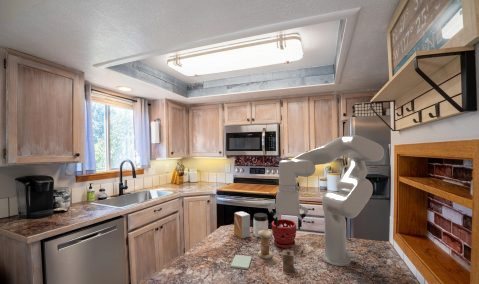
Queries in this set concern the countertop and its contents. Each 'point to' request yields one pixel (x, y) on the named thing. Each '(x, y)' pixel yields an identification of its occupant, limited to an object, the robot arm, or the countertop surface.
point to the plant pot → (284, 233)
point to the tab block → (288, 261)
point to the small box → (242, 224)
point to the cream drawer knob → (265, 244)
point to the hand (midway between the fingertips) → (287, 227)
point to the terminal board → (241, 262)
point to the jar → (259, 223)
